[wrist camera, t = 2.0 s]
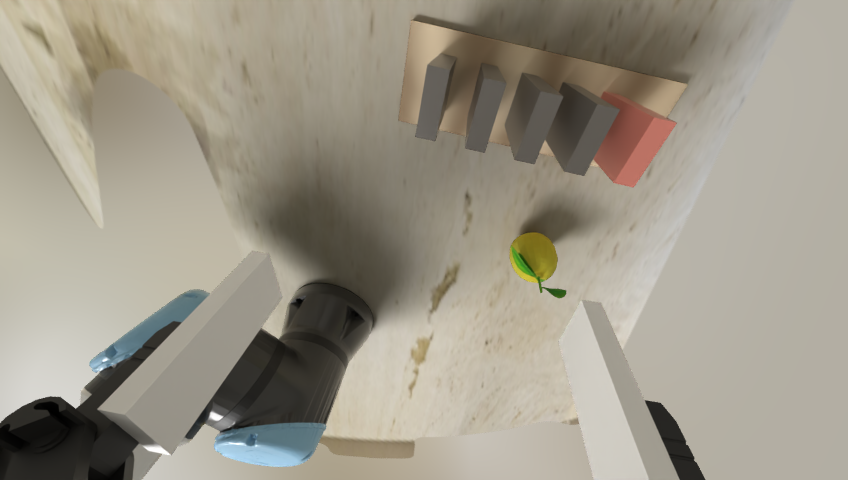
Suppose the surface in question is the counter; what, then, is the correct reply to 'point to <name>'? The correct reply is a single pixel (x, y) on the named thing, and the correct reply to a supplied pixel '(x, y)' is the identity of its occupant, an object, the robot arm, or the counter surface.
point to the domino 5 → (631, 140)
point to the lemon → (535, 259)
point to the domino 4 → (579, 127)
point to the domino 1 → (435, 96)
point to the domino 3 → (531, 116)
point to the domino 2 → (484, 107)
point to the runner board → (515, 77)
